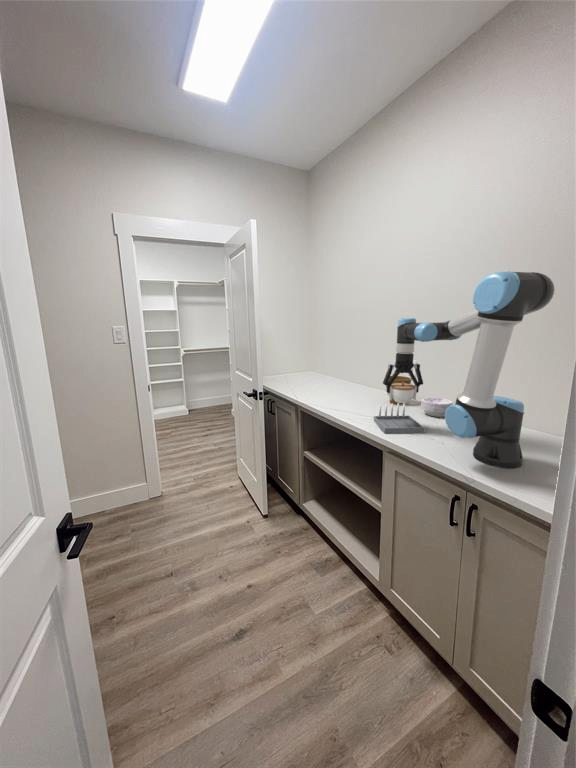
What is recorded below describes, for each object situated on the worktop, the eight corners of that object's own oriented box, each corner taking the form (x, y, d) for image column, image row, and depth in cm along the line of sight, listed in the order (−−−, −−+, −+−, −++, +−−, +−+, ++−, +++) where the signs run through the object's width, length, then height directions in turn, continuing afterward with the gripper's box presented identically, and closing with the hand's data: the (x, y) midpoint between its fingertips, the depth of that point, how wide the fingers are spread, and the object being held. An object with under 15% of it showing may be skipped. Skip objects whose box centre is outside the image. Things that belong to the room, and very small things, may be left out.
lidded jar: (416, 405, 139) (417, 384, 137) (391, 404, 141) (392, 384, 139) (411, 398, 149) (412, 380, 147) (388, 398, 151) (389, 379, 150)
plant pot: (403, 408, 179) (405, 381, 175) (379, 403, 189) (381, 378, 185) (413, 403, 189) (415, 377, 186) (390, 399, 199) (392, 374, 196)
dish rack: (424, 432, 140) (425, 414, 138) (384, 433, 140) (385, 414, 138) (408, 420, 158) (409, 403, 156) (373, 420, 158) (374, 403, 156)
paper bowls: (440, 409, 175) (441, 396, 173) (458, 418, 160) (459, 403, 158) (415, 411, 173) (416, 397, 171) (430, 419, 158) (431, 404, 156)
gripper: (426, 351, 144) (423, 397, 149) (377, 352, 144) (375, 397, 149) (434, 353, 137) (430, 401, 141) (381, 354, 137) (379, 401, 141)
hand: (401, 399), depth 145 cm, fingers closed on lidded jar, 11 cm apart
